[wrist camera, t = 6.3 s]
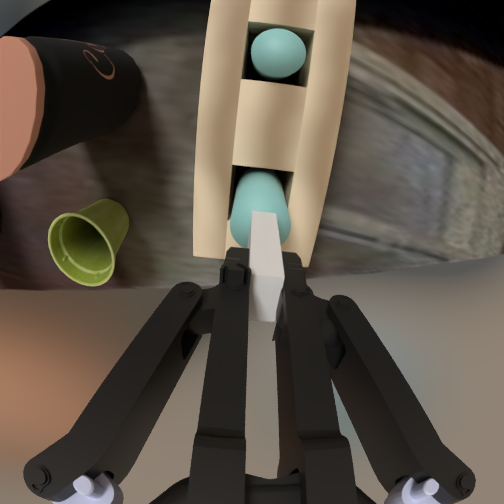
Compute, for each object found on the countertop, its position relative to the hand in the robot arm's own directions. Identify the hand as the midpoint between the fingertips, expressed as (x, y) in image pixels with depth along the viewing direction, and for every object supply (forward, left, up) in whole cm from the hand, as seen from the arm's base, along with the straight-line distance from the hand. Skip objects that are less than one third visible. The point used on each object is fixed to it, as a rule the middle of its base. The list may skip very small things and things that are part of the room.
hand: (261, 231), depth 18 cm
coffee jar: (-19, +9, -15) cm, 26 cm away
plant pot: (-19, -8, -15) cm, 26 cm away
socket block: (0, +6, -15) cm, 16 cm away
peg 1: (0, +12, -15) cm, 19 cm away
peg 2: (0, 0, -10) cm, 10 cm away
